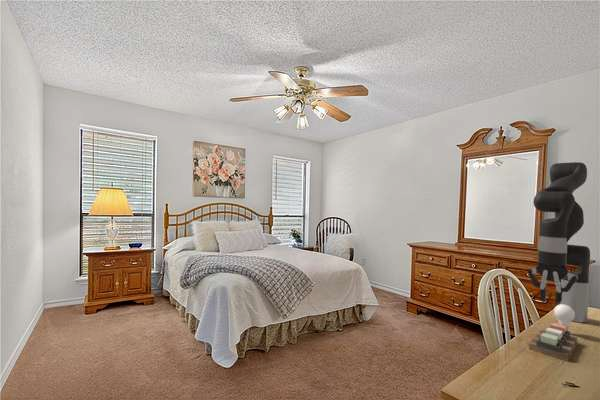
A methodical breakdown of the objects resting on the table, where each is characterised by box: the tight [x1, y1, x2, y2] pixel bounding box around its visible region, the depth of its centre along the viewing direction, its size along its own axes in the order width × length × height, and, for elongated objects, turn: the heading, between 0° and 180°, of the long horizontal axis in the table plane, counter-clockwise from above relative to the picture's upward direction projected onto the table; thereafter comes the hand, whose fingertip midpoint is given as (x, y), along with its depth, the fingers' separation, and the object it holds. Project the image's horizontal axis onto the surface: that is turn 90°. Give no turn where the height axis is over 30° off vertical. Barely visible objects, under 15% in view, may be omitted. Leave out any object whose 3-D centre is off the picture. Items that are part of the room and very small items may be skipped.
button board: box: [528, 326, 578, 362], centre depth 107 cm, size 22×10×4 cm, turn 131°
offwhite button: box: [545, 326, 563, 340], centre depth 107 cm, size 4×4×2 cm
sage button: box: [541, 333, 558, 346], centre depth 102 cm, size 4×4×2 cm
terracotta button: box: [549, 322, 567, 334], centre depth 113 cm, size 4×4×2 cm
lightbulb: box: [553, 303, 575, 331], centre depth 121 cm, size 6×6×11 cm
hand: (550, 301), depth 102 cm, fingers open, 3 cm apart
